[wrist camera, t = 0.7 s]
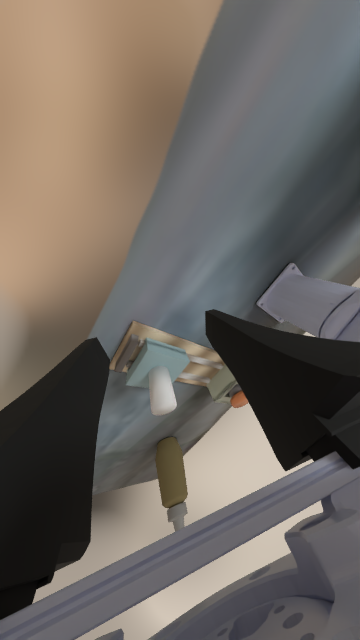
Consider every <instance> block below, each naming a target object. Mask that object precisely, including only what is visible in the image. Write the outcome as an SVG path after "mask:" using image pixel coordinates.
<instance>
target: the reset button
mask: <svg viewBox="0 0 360 640" xmlns="http://www.w3.org/2000/svg"><path fill="white" fill-rule="evenodd" d="M228 393H229V395H230V397H231V400H230V403H231V404H232V406H233V407H234V408H239V407H242V406H244V405H246V404H247V403H248V400H247V398H246V397H245V395H244V393H243V391H242V389H241V388H240V386H239V384H236V385H235V386H234V387H233V388H232V389H231V390H230V391H229V392H228Z"/></svg>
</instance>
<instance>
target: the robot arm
mask: <svg viewBox="0 0 360 640" xmlns="http://www.w3.org/2000/svg"><path fill="white" fill-rule="evenodd" d="M257 305H258V306H259V307H260V308H262V309H263V310H264V311H266V312H267V313H268V314H270V315H271V316H272V317H274V318H275V319H276V320H277V321H279V322H280V323H283V322H284V321H285V320H286V321H288V322H290V323H292V324H294V325H295V326H297V327H299V328H301V329H303V330H305V331H306V332H308V333H310V334H312V335H314V336H316V337H311V336H305V335H300V334H294V333H289V332H284V331H280V330H275V329H271V328H267V327H264V326H260V325H257V324H254V323H251V322H248V321H245V320H242V319H239V318H236V317H234V316H231V315H228V314H226V313H223V312H220V311H217V310H214V309H213V310H209V311H205V316H206V336H207V338H208V340H209V341H210V343H211V345H212V347H213V348H214V349H215V351H216V352H217V354H218V355H219V356H220V358H221V359H222V360H223V362H224V363H225V364H226V366H227V367H228V369H229V370H230V371H231V373H232V374H233V376H234V378H235V379H236V381H237V383H238V384H239V386H240V388H241V389H242V391H243V393H244V395H245V397H246V398H247V400H248V402H249V404H250V405H251V407H252V409H253V411H254V413H255V415H256V417H257V419H258V421H259V422H260V425H261V426H262V429H263V431H264V433H265V435H266V437H267V439H268V441H269V443H270V445H271V447H272V449H273V451H274V453H275V455H276V457H277V459H278V461H279V462H280V464H281V465H282V467H283V469H284V470H285V471H288V470H290V469H292V468H294V467H296V466H298V465H300V464H302V463H304V462H306V461H308V460H310V459H313V461H314V462H313V463H311V464H309V465H307V466H305V467H303V468H301V469H299V470H297V471H295V472H293V473H291V474H289V475H287V476H285V477H283V478H281V479H279V480H277V481H275V482H273V483H271V484H269V485H267V486H265V487H263V488H261V489H259V490H257V491H255V492H253V493H251V494H249V495H247V496H246V497H243V498H241V499H240V500H237V501H236V502H234V503H232V504H230V505H228V506H226V507H224V508H222V509H220V510H218V511H216V512H214V513H212V514H210V515H208V516H206V517H204V518H202V519H200V520H198V521H196V522H194V523H192V524H190V525H188V526H186V527H184V528H182V529H180V530H178V531H176V532H174V533H172V534H170V535H168V536H166V537H164V538H162V539H160V540H158V541H156V542H154V543H152V544H151V545H148V546H146V547H144V548H143V549H141V550H138V551H136V552H135V553H133V554H131V555H129V556H127V557H125V558H123V559H121V560H119V561H117V562H115V563H113V564H111V565H109V566H107V567H105V568H103V569H101V570H99V571H97V572H95V573H93V574H91V575H89V576H87V577H85V578H83V579H81V580H79V581H77V582H75V583H73V584H71V585H69V586H67V587H65V588H63V589H61V590H59V591H57V592H55V593H53V594H51V595H49V596H47V597H45V598H43V599H42V600H40V601H37V602H35V603H33V604H32V602H33V599H34V596H35V592H36V589H38V588H40V587H42V586H45V585H47V584H49V583H51V581H52V579H53V576H54V572H55V571H57V570H59V569H61V568H63V567H65V566H67V565H69V564H71V563H74V562H76V561H78V560H80V558H81V557H82V556H83V555H84V553H85V551H86V549H87V547H88V545H89V543H90V537H91V508H92V489H93V474H94V461H95V451H96V441H97V433H98V424H99V418H100V413H101V408H102V404H103V399H104V395H105V390H106V386H107V381H108V376H109V366H110V359H109V358H108V356H107V354H106V353H105V351H104V349H103V347H102V346H101V344H100V342H99V340H98V339H97V337H96V338H92V339H88V340H85V341H84V342H83V343H81V344H80V345H79V346H78V347H77V348H76V349H75V350H73V351H72V352H71V353H70V354H69V355H68V356H67V357H66V358H65V359H63V360H62V361H61V362H60V363H59V364H58V365H57V366H56V367H54V369H52V370H51V371H50V372H49V373H47V374H46V375H45V376H44V377H43V378H42V379H40V380H39V381H38V382H37V383H36V384H35V385H33V386H32V387H31V388H30V389H28V390H27V391H26V392H25V393H23V394H22V395H21V396H19V397H18V398H17V399H16V400H14V401H13V402H12V403H10V404H9V405H8V406H6V407H5V408H4V409H2V410H1V411H0V640H75V639H77V638H78V637H80V636H82V635H84V634H85V633H87V632H89V631H91V630H92V629H94V628H96V627H98V626H99V625H101V624H103V623H105V622H106V621H108V620H110V619H112V618H114V617H115V616H117V615H119V614H121V613H122V612H124V611H126V610H128V609H129V608H131V607H133V606H135V605H136V604H138V603H140V602H142V601H144V600H145V599H147V598H149V597H151V596H152V595H154V594H156V593H158V592H159V591H161V590H163V589H165V588H166V587H168V586H170V585H172V584H173V583H175V582H177V581H179V580H181V579H182V578H184V577H186V576H188V575H189V574H191V573H193V572H195V571H196V570H198V569H200V568H202V567H203V566H205V565H207V564H209V563H210V562H212V561H214V560H216V559H218V558H219V557H221V556H223V555H225V554H226V553H228V552H230V551H232V550H233V549H235V548H237V547H239V546H240V545H242V544H244V543H246V542H247V541H249V540H251V539H253V538H255V537H256V536H258V535H260V534H262V533H263V532H265V531H267V530H269V529H270V528H272V527H274V526H276V525H277V524H279V523H281V522H283V521H284V520H286V519H288V518H290V517H291V516H293V515H295V514H297V513H298V512H300V511H302V510H304V509H306V508H307V507H309V506H311V505H313V504H314V503H316V502H318V501H320V500H321V503H322V507H323V513H320V514H316V515H313V516H310V517H308V518H306V519H303V520H302V521H300V522H299V523H297V524H296V525H295V526H293V527H292V528H291V529H290V530H288V532H286V533H285V540H286V542H287V544H288V546H289V548H290V550H291V552H292V553H290V554H288V555H286V556H284V557H282V558H280V559H278V560H276V561H274V562H273V563H270V564H268V565H266V566H265V567H262V568H260V569H258V570H256V571H255V572H253V573H251V574H249V575H247V576H245V577H243V578H241V579H239V580H237V581H235V582H234V583H232V584H230V585H228V586H227V587H225V588H223V589H222V590H220V591H218V592H216V593H215V594H213V595H212V596H210V597H208V598H207V599H205V600H204V601H202V602H201V603H199V604H198V605H196V606H195V607H193V608H192V609H190V610H189V611H187V612H186V613H185V614H183V615H182V616H180V617H179V618H177V619H176V620H175V621H173V622H172V623H170V624H169V625H168V626H166V627H165V628H163V629H162V630H160V631H159V632H158V633H156V634H155V635H154V636H152V637H151V638H149V639H148V640H360V288H357V287H352V286H348V285H343V284H338V283H334V282H329V281H325V280H320V279H316V278H311V277H306V276H303V274H302V273H301V272H300V270H299V269H298V268H297V266H296V265H295V264H294V263H290V264H289V265H288V266H287V267H286V268H285V269H284V270H283V272H282V273H281V274H280V275H279V276H278V278H277V279H276V280H275V281H274V282H273V284H272V285H271V286H270V287H269V288H268V289H267V291H266V292H265V293H264V294H263V295H262V297H261V298H260V299H259V300H258V301H257ZM123 636H124V633H123V631H122V629H118V630H116V631H114V632H111V633H108V634H106V635H103V636H101V637H99V638H97V639H95V640H123Z"/></svg>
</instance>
